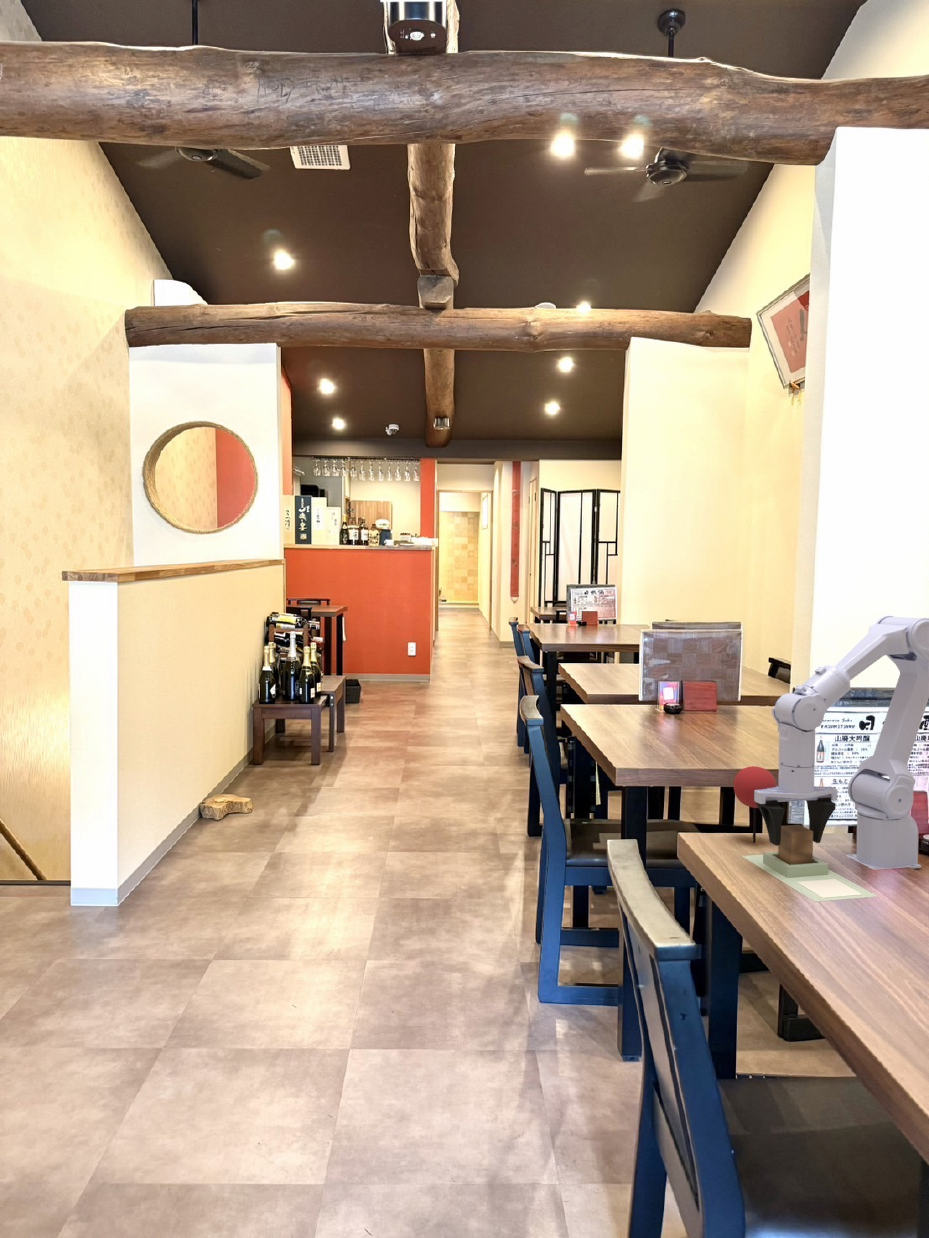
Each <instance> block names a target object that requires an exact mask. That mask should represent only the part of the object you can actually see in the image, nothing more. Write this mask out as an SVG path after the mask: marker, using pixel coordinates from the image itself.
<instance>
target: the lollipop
mask: <svg viewBox="0 0 929 1238" xmlns="http://www.w3.org/2000/svg"><path fill="white" fill-rule="evenodd" d="M773 787H778V786H777V781H776V779H775V776H774V775H773V773H772V772H771V771H770V770H768V769H766V768H763V767H760V766H754V765H753V766H747V767H744V768H742V769H741V770H739V771H738V772H737V773H736V775H735V777H734V780H733V790H734V791H733V792H734V794H735V797H736V798H737V800H738V801H739V802H740V803H741V804H742V805H745V806H746V807H749V808H753V809H752V810H753V811H752V818H753V820H752V843H753V844H756V837H757V836H756V835H757V829H756V828H757V809H759V808H758V806H757V802H755V801H754V790H762V789H768V788H773Z"/></svg>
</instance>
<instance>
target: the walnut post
mask: <svg viewBox="0 0 929 1238" xmlns="http://www.w3.org/2000/svg"><path fill="white" fill-rule="evenodd" d="M777 850H778V851H777V852H778V859H780V860H782V861H784V862H785V863H787V864H789V865H797V864H810V863H813V856H814V853H813V852H814V841H813V831H811V830H809V828H806V827H805V826H803V825H801V824H792V825H791V824H790V825H781V842H780V845H779V846H778V848H777Z"/></svg>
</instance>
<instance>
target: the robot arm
mask: <svg viewBox="0 0 929 1238" xmlns="http://www.w3.org/2000/svg"><path fill="white" fill-rule="evenodd" d="M884 656H887V658H888V659H889V660H890V661H891V662H892V663H893V664H895V666H896V667H897V668H896V669H898V671H899V676H898V678H897V682H896V685H895V689H894V691H893V694H892V697H891V701H890V703H889V706H888V710H887V713H886V716H885V718H884V722H883V724H882V728H881V731H880V732H879V733H880V734H879V738H878V739H877V743H876V746H875V749H874V752H873V755H871V756H870V757H868V758H866V759H864V760H863V761H861V762H860V763H859V766H858V769H857V770H856V773H854V774H853V776H852V777H851V778H850V780H849V782H848V786H847V793H848V797H849V799H850V801H852V802H853V804H854V810H856V812H857V813H856V853H850V854H848V853H847V854H845V856H846V857H847V858H849V859H852V860H853V861H855V862H857V863H860V864H861V865H863V866H866V867H867V868H869V869H871V870H878V871H879V870H887V869H888V870H889V869H901V868H904V869H905V868H911V869H913V870H914V869H921V868H922V865H921V864H920V863H918V861H919V828H918V824H917V822H916V821H915V819H914V817H912V815H911V814H909V813H910V811H911V810H912V808H913V805H914V800H915V799H914V787H915V784H916V779H915V777H914V776H913V774H912V773H911V771H910V769H909V767H908V763H909V760H910V757H911V753H912V751H913V748H914V744H915V742H916V740H917V736H918V732H919V730H920V727H921V723H922V720H923V717H924V714H925V711H926V708H927V705H928V702H929V617H920V618H919V617H900V616H899V617H898V616H893V615H886V616H882V617H880V618H879V619H878V620H877V621H876V622H875V623H873V624H871V626H869V627H868V633H867V634H866V635H865V636H864V637H862V639H861V640H860V641H859V642H858V643H857V644H856V645H855V646H854V647H853V648H852V649H851V650H850V651H849V652H848V653H847V654H846V655H844V656H843V658H842V659H841V660H840V661H838V663H836V665H835V666H834V665H823V666H818V667H816V669H814V674H812V676H811V677H809V678H808V679H807V680H806V681H805V682H803V683H802V684H799V685H797V686H796V687H795V690H794V692H793V693H792V692H789V693H787V692H786V693H784V694H783V695H781V696H780V697H779V698H778V699H777V701H776V702H775V705H774V707H773V708H772V709H771V713H772V717H773V719H774V721H775V722H776V724H777V732H778V733H779V734H778V735H779V736H778V738H779V739H778V781H777V782H778V783H777V784H778V786H777V787H773V788H768V789H762V790H754V801H755V802H757V806H758V808H757V809H758V810H759V811H760V814H761V816H762V818H763V821H764V823H765V827H766V830H767V834H768V839H769V843H770V844H771V845H774V846H779V845H780V842H781V826H783V823H782V822H783V820H784V819H783V818H784V814H785V812H786V809H785V808H783V807H782V806H780V805H781V804H780V803H782V802H783V803H784V802H785V803H786V802H803V801H805V802H806V807H807V810H808V811H807V813H808V818H809V820H808V824H809V825H808V829H809V830H811V831H813V843H816V844H820V843H821V842H822V838H823V835H824V831H825V828H826V826H827V823H828V821H829V819H830V818H831V816H832V814H833V813H834V812H835V810H836V805H837V804H836V802H833V801H837V800H838V788H836V787H832V786H820V785H819V786H815V767H816V766H815V764H816V761H815V760H816V729H817V728H818V727H820V726H821V725H822V724H823V722H824V718H825V714H826V713H827V711H828V710H829V709H830V708H831V707H832V706H834V704H836V703H837V702H838V701H839V700H840V699H841V698H842V697H844V696H845V695H846V694H847V693H849V692H850V690H851V680H853V679H854V678H855V677H857V676H858V675H860V674H861V673H862V672H864V671H865V670H866V669H868V668H869V667H870V666H872V665H874V664H875V663H876V662H878V660H880V659H881V658H882V657H884ZM884 776H887V777H889V778H887V777H884Z"/></svg>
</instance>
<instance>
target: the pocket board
mask: <svg viewBox="0 0 929 1238" xmlns="http://www.w3.org/2000/svg"><path fill="white" fill-rule="evenodd" d="M741 856H742V858H744V859H746V860H747V861H749V862H750V863H752V864H754V865H755V866H756V867H758V868H760V869H761V870H764V872H766V873H767V874H769V875H771V876H773V877H774V878H775V879H777V880H779V881H781V882H782V883H784V884H785V885H787V886H789V887H791V888H792V889H794V890H795V891H796V892H798V893H800V894H801V895H803V896H805V897H806V898H808V899H809V900H811V901H813V902H814V903H818V902H819V903H820V902H829V901H830V902H832V901H841V900H854V899H867V898H878V897H879V895H876V894H874V893H873V892H871V891H869V890H867V889H866V888H863V887H862V886H861V885H858V884H856V883H854V882H853V881H851V880H849V879H847V878H845V877H843V876H842V875H840V874H838V873H836V872H834V871H832V870H831V869H829V865H830V864H829V863H828V862H825V861H823V860H821V859H820V858H818V857H816V856H814V855H813V863H810V864H797V865H789V864H787V863H785V862H784V861H782V860H780V859H778V851H773V852H763V854H754V855H741Z"/></svg>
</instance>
